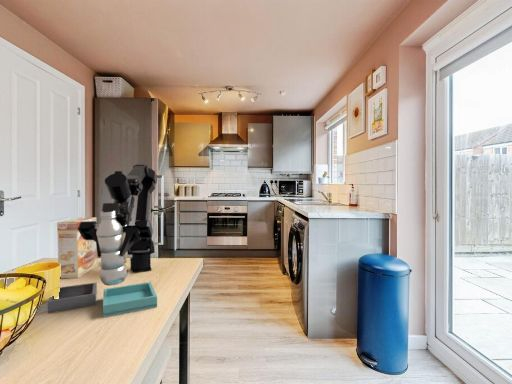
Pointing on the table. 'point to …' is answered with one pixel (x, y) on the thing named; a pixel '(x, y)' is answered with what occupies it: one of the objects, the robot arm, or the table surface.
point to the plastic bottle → (111, 249)
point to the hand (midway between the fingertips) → (110, 256)
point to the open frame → (73, 297)
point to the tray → (128, 299)
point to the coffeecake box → (75, 249)
